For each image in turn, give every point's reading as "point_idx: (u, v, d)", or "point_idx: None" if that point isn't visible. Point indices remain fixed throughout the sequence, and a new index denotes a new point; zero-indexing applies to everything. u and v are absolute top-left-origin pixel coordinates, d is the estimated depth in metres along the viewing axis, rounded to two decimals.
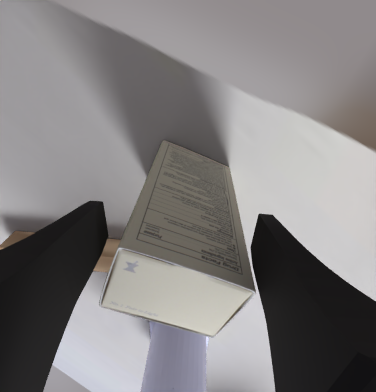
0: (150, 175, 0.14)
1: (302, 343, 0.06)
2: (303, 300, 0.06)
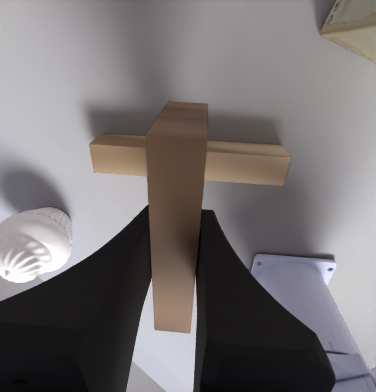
0: None
1: (200, 333, 0.06)
2: (203, 291, 0.07)
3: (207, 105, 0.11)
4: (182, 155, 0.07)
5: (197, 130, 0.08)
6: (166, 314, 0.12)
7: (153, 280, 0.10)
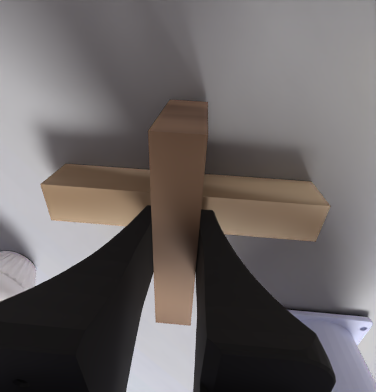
0: None
1: (200, 333, 0.06)
2: (203, 291, 0.07)
3: (207, 103, 0.11)
4: (183, 150, 0.08)
5: (197, 127, 0.08)
6: (167, 306, 0.12)
7: (154, 273, 0.11)
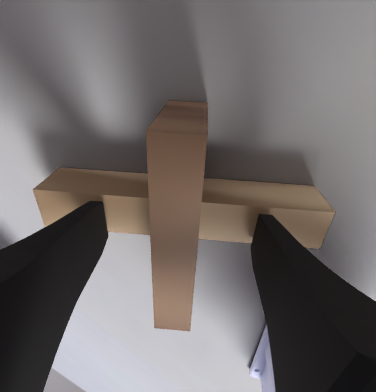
0: None
1: (302, 343, 0.06)
2: (303, 300, 0.06)
3: (207, 104, 0.11)
4: (182, 151, 0.07)
5: (197, 127, 0.08)
6: (166, 312, 0.12)
7: (153, 277, 0.10)
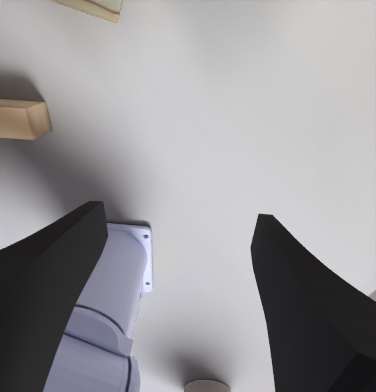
0: None
1: (302, 343, 0.06)
2: (303, 300, 0.06)
3: None
4: None
5: None
6: None
7: None
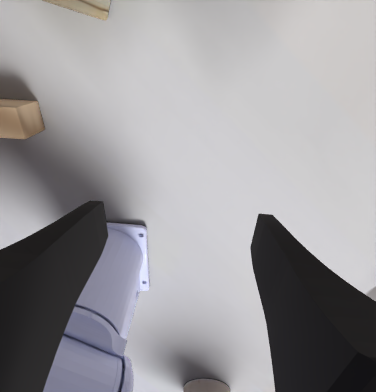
0: None
1: (302, 343, 0.06)
2: (303, 300, 0.06)
3: None
4: None
5: None
6: None
7: None
